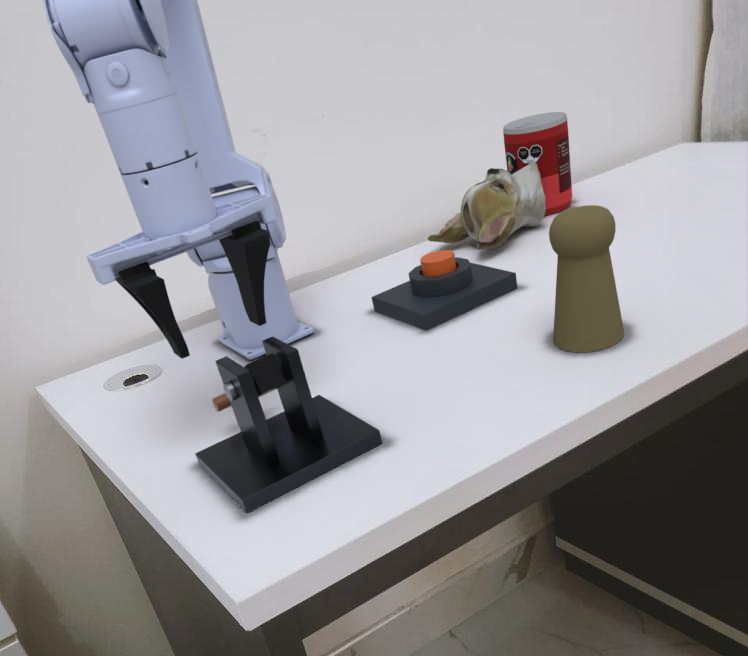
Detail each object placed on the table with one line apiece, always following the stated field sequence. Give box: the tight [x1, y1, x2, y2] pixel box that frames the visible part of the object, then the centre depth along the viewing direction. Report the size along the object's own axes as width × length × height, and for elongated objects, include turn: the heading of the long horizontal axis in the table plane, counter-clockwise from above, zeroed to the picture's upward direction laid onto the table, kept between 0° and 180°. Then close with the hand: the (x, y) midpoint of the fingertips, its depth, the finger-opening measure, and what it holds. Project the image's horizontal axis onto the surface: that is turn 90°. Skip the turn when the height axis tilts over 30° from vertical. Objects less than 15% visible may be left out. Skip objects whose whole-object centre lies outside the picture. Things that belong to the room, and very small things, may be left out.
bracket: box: [194, 336, 383, 514], centre depth 58 cm, size 10×12×9 cm
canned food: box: [502, 111, 573, 217], centre depth 98 cm, size 8×8×11 cm
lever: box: [211, 353, 287, 412], centre depth 60 cm, size 10×5×2 cm, turn 32°
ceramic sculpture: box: [427, 161, 546, 250], centre depth 92 cm, size 11×9×15 cm
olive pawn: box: [548, 204, 625, 353], centre depth 63 cm, size 6×6×11 cm
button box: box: [371, 256, 518, 331], centre depth 80 cm, size 10×12×4 cm
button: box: [419, 249, 457, 276], centre depth 79 cm, size 4×4×2 cm
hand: (220, 338), depth 61 cm, fingers open, 6 cm apart
